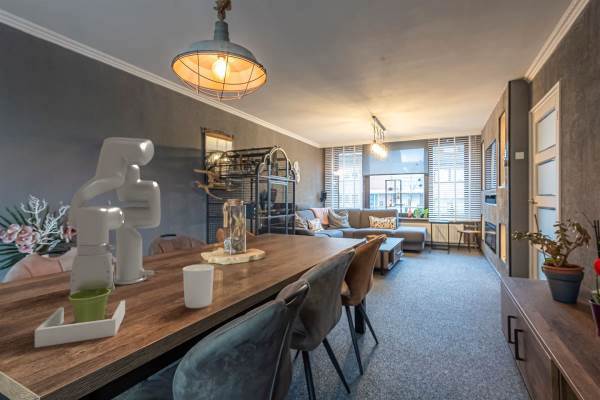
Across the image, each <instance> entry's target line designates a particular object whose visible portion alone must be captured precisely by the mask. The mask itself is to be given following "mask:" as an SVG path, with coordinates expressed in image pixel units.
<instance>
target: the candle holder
mask: <svg viewBox="0 0 600 400" xmlns="http://www.w3.org/2000/svg"><path fill="white" fill-rule="evenodd" d="M214 269H215V266H214V265H212V264H207V263H205V264H204V263H203V264H191V265H187V266H185V267H183V268H182V275H183V277H182V278H183V292H184V293H183V294H184V295H183V296H184V305H185V307H186V308H189V309H201V308H205V307H209V306H210V305H211V304H212V301H213V286H214V272H215V270H214Z"/></svg>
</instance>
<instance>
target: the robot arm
mask: <svg viewBox="0 0 600 400" xmlns="http://www.w3.org/2000/svg"><path fill="white" fill-rule="evenodd" d="M154 154H155V146H154V144H153V141H151V140H150V139H147V138H134V137H133V138H132V137H131V138H130V137H120V136H119V137H117V136H114V137H112V136H111V137H108V138H106V139H104V140H103V143H102V147H101V149H100V153H99V158H98V160H97V161H98V162H97V166H96V170H95V175H94V177H92V178H90V180H88V181H86V182H85V183H84V184H83V185H81V186H80V187H79V188H78V189H77V190H76V191H75V193H74V194H73V197H72V199H71V203H70V206H69V209H68V210H69V211H68V216H67V221H68V222H67V223H68V225H69V226H70V228H71V229H72V230H73V229H74V230H76V254H75V255H74V256H73V259H72V266H71V272H70V273H71V274H70V283H69V284H70V285H69V286H70V292H69V296H70V295H71V294H73V293H76V292H80V291H87V293H88V291H89V290H96V292H95V295H98V293H99V292H100V290H101V289H109V290H110V293H112V292H113V291H114V290H115V289H116V287H115V285H118V286H119V285H130V284H131V285H132V284H137V283H142V282H143V281H145V280H147V276H153V275H155V271H154V270H152V269H148V270H145V268H144V267H143V237H142V235H141V234H140V232H139V231H138V230H137V229H153V228H157V227H159V226H160V224H161V215H162V213H161V212H162V210H161V208H162V207H161V190H160V186H159V184H158V183H157V182H156V181H154V180H143V179H141V175H140V173H141V172H140V167H139V166H145V165H147V164H148V163H149V162H151V161H152V159H153V157H154ZM115 189H116V195H117V198H118V201H120V202H122V203H125V204H146V205H123V206H120V207H118V206H113V205H88V204H89V202H90V201H91V200H93V199H94V198H95V197H98V196H99V195H102V194H104V193H107V192H110V191H113V190H115ZM113 230H115V237H116V241H115V242H116V244H115V245H114V244H113V245H112V244H111V243H110V241H109V238H110V237H109V235H110V234H109V233H110V231H113ZM115 246H116V247H115ZM115 248H116V254H115V255H116V256H115V260H116V261H115V262H114V258H113V253H112V252H110V251H112V250H115ZM114 263H115V264H114ZM115 266H116V267H115ZM115 269H116V270H115ZM115 271H116V275H115Z"/></svg>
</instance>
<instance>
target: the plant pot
mask: <svg viewBox="0 0 600 400" xmlns="http://www.w3.org/2000/svg"><path fill="white" fill-rule="evenodd" d="M95 292H96V290H89V291H88V293H87V291H80V292H76V293H73V294H71V295H70V294H69V295H68V298H67V299H68V300H69V301H70V304H71V306H72V311H73V317H74V322H75V323H74V324H76V323H84V322H91V321H99V320H105V315H106V309H107V308H106V307H107V301H108V298H109V294H110V293H111V292H110V290H109V289H101V290H100V292H99V293H98V295H95Z"/></svg>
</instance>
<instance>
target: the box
mask: <svg viewBox="0 0 600 400" xmlns="http://www.w3.org/2000/svg"><path fill="white" fill-rule="evenodd" d="M64 312H65V309H64V307H59V308H57V309H56V310H55V311H54V312H53V313H52V314H51V315H50V316H49V317H48V318H46V319H45V321H43V322H42V323H41V324H40V325H38V327H37V328H36V329H35V330H34V348H42V347H48V346H49V347H50V346H54V345H55V346H56V345H61V344H69V343H74V342H81V341H87V340H96V339H102V338H108V337H113V336H114V337H115V336H116V335H117V332H118V330H119V328H120V326H121V323H122V322H123V319H124V317H125V314H126V300H125V299H124V300H120V302H119V304H118V306H117V308H116V310H115V311H114V313H113V315H112V317H111V318H107V319H104V320H99V321H91V322H84V323H70V324H69V323H68V324H63V323H64V322H65V320H64V319H65V317H64V314H65V313H64Z"/></svg>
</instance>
